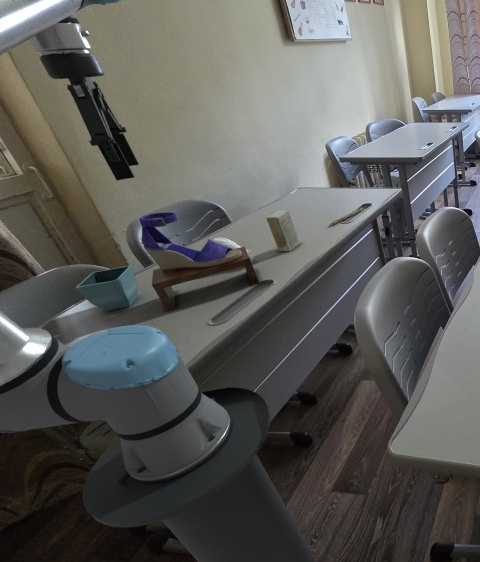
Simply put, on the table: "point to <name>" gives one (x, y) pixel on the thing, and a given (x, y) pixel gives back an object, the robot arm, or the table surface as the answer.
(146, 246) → the sandal
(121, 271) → the flower pot
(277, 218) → the cosmetic box
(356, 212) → the pencil
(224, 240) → the white rounded piece
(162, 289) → the shoe shelf
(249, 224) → the table surface
